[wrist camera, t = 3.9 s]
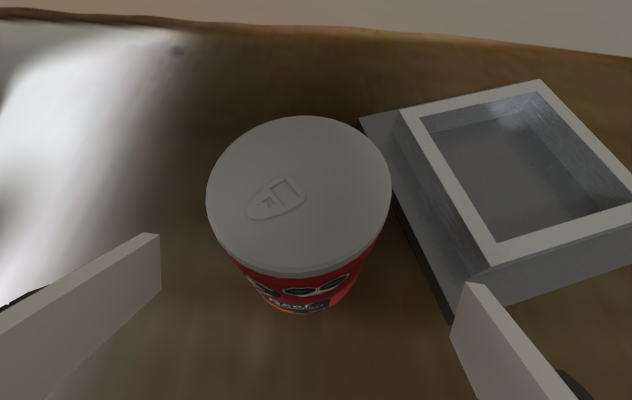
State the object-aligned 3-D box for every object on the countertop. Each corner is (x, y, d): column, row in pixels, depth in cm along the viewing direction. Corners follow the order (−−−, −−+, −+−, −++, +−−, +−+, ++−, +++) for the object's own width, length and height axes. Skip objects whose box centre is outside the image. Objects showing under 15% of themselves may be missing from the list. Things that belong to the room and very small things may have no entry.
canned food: (230, 271, 22) (163, 198, 12) (300, 196, 25) (291, 89, 15) (313, 343, 19) (312, 324, 10) (378, 250, 22) (427, 166, 13)
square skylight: (355, 129, 28) (361, 96, 25) (518, 92, 31) (545, 57, 27) (448, 325, 20) (477, 317, 16) (661, 252, 22) (725, 232, 19)
